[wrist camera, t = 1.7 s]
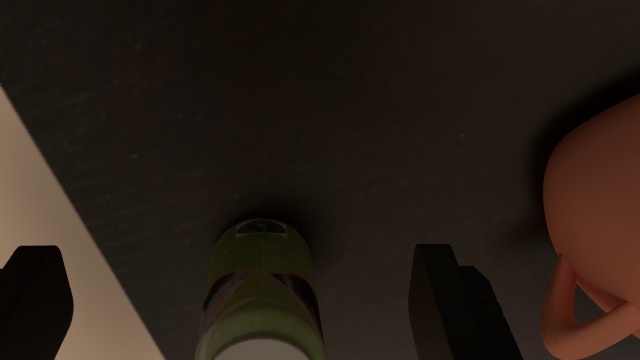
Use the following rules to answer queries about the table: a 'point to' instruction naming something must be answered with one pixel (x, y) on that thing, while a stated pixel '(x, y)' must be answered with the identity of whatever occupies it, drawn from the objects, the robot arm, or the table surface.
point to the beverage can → (260, 297)
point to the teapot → (594, 232)
